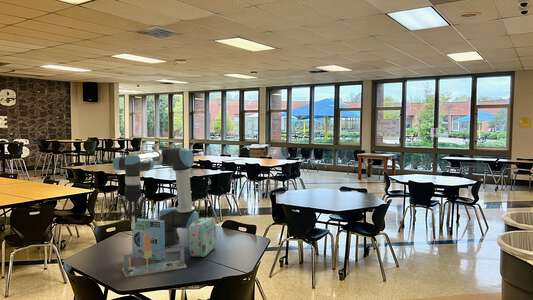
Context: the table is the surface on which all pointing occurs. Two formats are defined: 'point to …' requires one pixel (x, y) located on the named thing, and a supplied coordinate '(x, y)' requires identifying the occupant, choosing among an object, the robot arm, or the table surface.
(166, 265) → the plate
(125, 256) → the clear acrylic panel
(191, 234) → the lunch box
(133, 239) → the gum box
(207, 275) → the table surface
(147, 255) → the cursor
